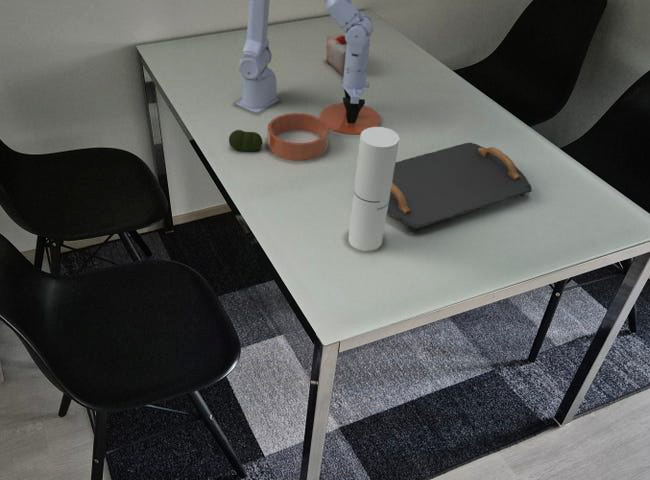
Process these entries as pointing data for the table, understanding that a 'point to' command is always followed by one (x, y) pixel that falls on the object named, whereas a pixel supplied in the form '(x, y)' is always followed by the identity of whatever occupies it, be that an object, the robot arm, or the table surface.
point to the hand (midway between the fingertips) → (350, 115)
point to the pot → (298, 149)
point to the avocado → (245, 140)
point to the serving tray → (452, 184)
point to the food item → (336, 52)
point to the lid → (338, 119)
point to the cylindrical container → (372, 187)
